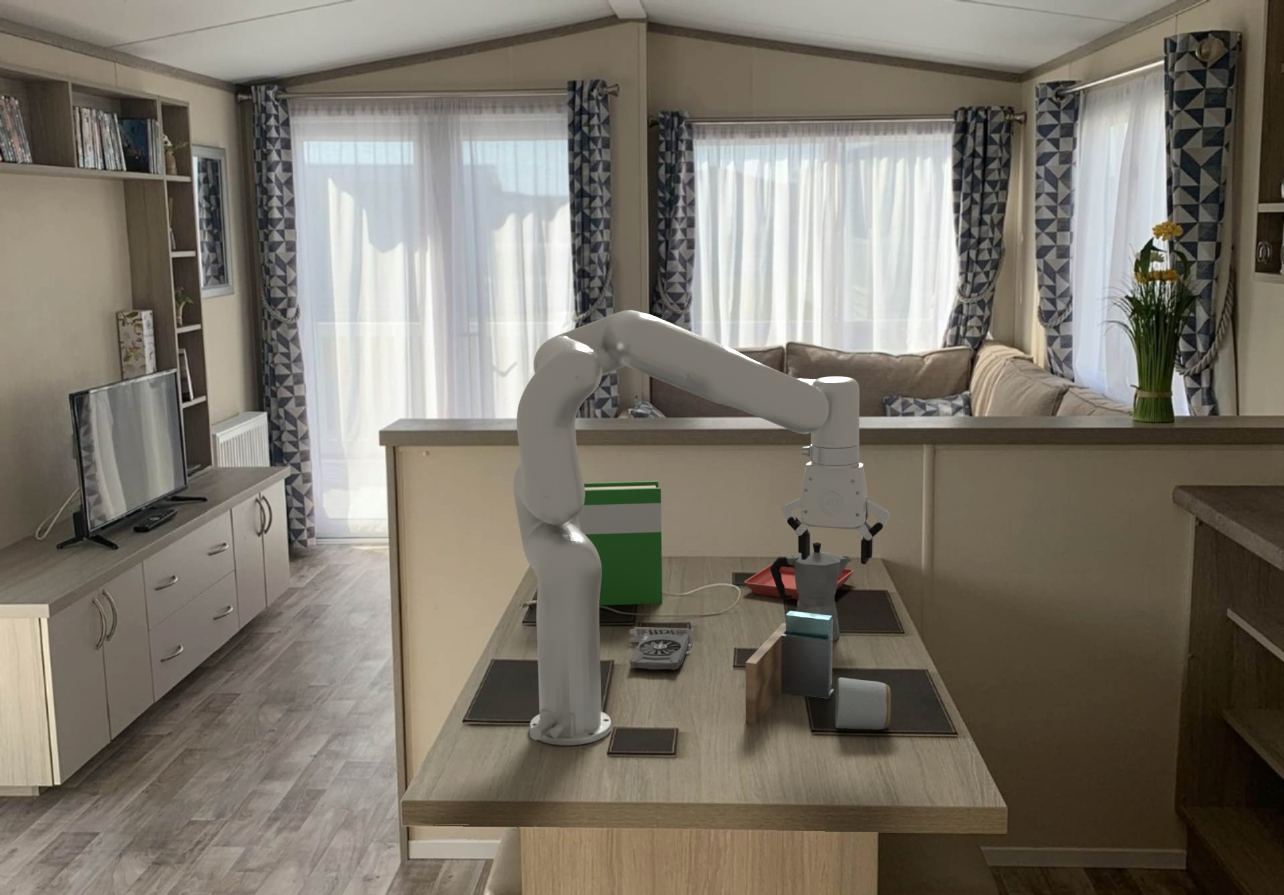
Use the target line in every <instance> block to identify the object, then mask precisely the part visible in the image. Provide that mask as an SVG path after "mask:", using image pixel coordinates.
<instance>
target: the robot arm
mask: <svg viewBox="0 0 1284 895" xmlns="http://www.w3.org/2000/svg"><path fill="white" fill-rule="evenodd" d="M624 367H628V368H630V369H631V370H632V369H633V370H635V371H637V372H639V373H642V374H644V375H646V376H648V377H651V378H653V379H656V380H659V381H661V382H663V383H666V384H668V385H671V386H673V387H676V388H678V389H681V390H683V391H686V392H688V393H691V394H693V395H695V396H698V397H700V398H703V399H705V400H707V401H711V402H713V403H716V404H719V405H722V406H728V407H730V408H733V409H737V410H739V411H742V412H745V413H747V414H750V415H752V416H755V417H758V418H759V419H762V420H765V421H768V422H770V423H772V424H775V425H777V426H779V427H782V428H785V429H786V430H789V431H791V432H794V433H797V434H800V435H801V434H802V435H807V434H810V445H809V446H802V449H801V454H802V456H806V457H809V462H807V463H806V464H805V468H804V473H803V479H802V480H803V481H802V489H801V491H802V492H801V497H798V498H797V499H795V500H793V501H790V502H788V503H786V504H784V505H783V506H782V507H781V512H782V514H783V515H784V518H785V519H786V521H787V524H788V525H789V526H790V527H791V529H793V531H794V532H795V534H796V535H797V537H798V538H797V544H798V545H797V547H798V548H797V551H798V554H800V553H801V559H802V560H805V559H807V558H808V556H809V555H810V552H811V533H810V531H809V530H808V529H809V527H813V528H823V529H824V528H826V529H827V528H828V529H844V530H857V531H858V532H859V533H860V534H861V535H862V538H861V540H860V563H861V564H862V565H866V564H867V563H868V562H869V560H870V559H872V558H873V547H874V546H873V538H874V537H875V536H876V535H877V534H878V533H879V532H880V531H881V530H882V529H883V528H884V526H885V525H886V523H887V521H888V519H889V518H890V516H891V512H890V511H889V510H888V509H887V508H884V507H882V506H880V505H879V504H877V503H875V502H874V501H872V500H870V499H869V496H868V488H867V486H868V485H867V478H866V472H865V466H864V463H862V462H860V385H859V383H858V382H857V380H856V379H855V378H852V377H848V376H825V377H819V378H816V379H815V378H814V379H812V378H811V379H810V378H796V377H793V376H791V375H789V374H786V373H784V372H781V371H780V370H777V369H774V368H773V367H770V366H769V365H765V364H763V363H761V362H758V361H756V360H754V359H752V358H750V357H748V356H746V355H744V354H742V353H740V352H739V351H738V350H737V351H736V350H735V349H733V348H730V347H728V346H726V345H723V344H721V343H719V342H716V341H714V340H711V339H709V338H707V337H704V336H702V335H700V334H697V333H694V332H692V331H691V330H688V329H685V328H683V327H681V326H679V325H676V324H674V323H672V322H669V321H667V320H663V319H661V318H659V317H657V316H654V315H652V314H649V313H645V312H641V311H637V310H632V309H629V310H621V311H619V312H615V313H613V314H610V315H607V316H605V317H601V318H600V319H597V320H595V321H592V322H589V323H587V324H585V325H582V326H579V327H576V328H574V329H570V330H569V331H566V332H562V333H561V334H557V335H555V336H553V337H551V338H549V339H547V340H546V341H545V342H544V343H542V345H540V346H539V348H538V349H537V351H536V353H535V355H534V359H533V371H534V374H533V375H532V377H531V378H530V380H529V381H528V383H527V385H526V387H525V388H524V390H523V392H522V395H521V396H520V399H519V401H518V406H517V412H516V430H517V432H516V433H517V439H518V447H519V456H520V462H519V464H518V466H517V468H516V469H515V473H514V476H513V483H512V484H513V487H512V488H513V496H514V502H515V508H516V516H517V520H518V526H519V531H520V536H521V541H522V548H523V552H524V556H525V557H526V561H527V563H528V564H529V567H531V569H532V570H533V572H534V573H535V575H536V579H537V598H536V616H535V617H536V640H537V642H536V644H537V665H538V666H537V672H538V676H537V677H538V702H539V703H538V704H539V708H538V710H539V714H537V715H535V716H534V717H533V718H532V719H531V720H530V723H529V736H530V737H531V739H533V740H535V741H537V740H538V741H540V742H541V743H546V744H550V745H554V746H556V745H557V746H579V745H585V744H590V743H593V742H596V741H599V740H601V739H603V738H605V737H606V736H608V734H609V733H610V732H611V731H612V725H613V724H612V718H611V717H610V716H609V715H608V714H606V713H605V712H603V711H602V693H601V692H602V686H601V685H602V683H601V640H600V639H601V635H600V632H601V631H600V605H599V599H600V588H601V578H602V568H601V561H600V557H599V554H598V552H597V550H596V548H595V546H594V545H593V543H592V542H591V541H590V540H589V538H588V537H587V536H586V535H585V534H584V533H582V532H581V529H580V524H579V518H578V515H579V513H580V512H581V510H582V508H583V505H584V501H585V487H584V483H585V482H584V479H583V473H582V469H581V463H580V458H579V451H578V450H579V449H578V444H577V435H576V434H577V433H576V419H577V415H578V411H579V409H580V407H581V406H582V404H583V403H584V402H585V401H586V400H587V399H588V398H589V397H590V396H591V395H592V394H593V393H594V392H595V391H596V390H597V388H598V387H599V386H600V383H601V380H602V377H603V376H606V375H607V374H610V373H612V372H615V371H617V370H620V369H622V368H624ZM799 508H801V509H800V518H801V521H802V522H801V521H800V520H799V518H797V516H796V515H795V513H794V510H797V509H799ZM869 512H870V513H872V514H874V515H876V516H877V517H878V519H877V521H876V523H874V524H873V525H871V524H870V522H868V521H867V520H868V518H869Z"/></svg>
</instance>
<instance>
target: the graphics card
mask: <svg viewBox="0 0 1284 895" xmlns="http://www.w3.org/2000/svg"><path fill="white" fill-rule="evenodd" d="M693 630H694V628H693V627H692V628H691V629H690V628H686V627H682V628H681V627H679V628H678V627H648V626H647V627H645V626H644V627H643V626H642V627H640V626H634V627H633V628H630V629H629V635H633V636H634V637H629V643H631V642H639V643H637V646H636V649H635V651H634V652H633V654H632V656H631V658H630V660H629V665H630V666H629V667H630V668H631V669H636V668H637V669H647V670H675V669H677V670H678V669H679V667H680V666H682V665H683V662H684V659H685V657H686V655H687V654H686V652H687V651H689V650H691V648H692V644H693V645H694V633H693V632H694V631H693ZM650 631H651V633H652V634H651V633H650ZM655 631H656V633H657V634H656V633H655ZM660 631H661V632H662V633H661V632H660ZM667 631H668V632H669V633H667ZM671 631H672V632H673V634H672V632H671ZM667 647H668V648H667Z"/></svg>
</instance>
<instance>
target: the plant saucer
mask: <svg viewBox="0 0 1284 895" xmlns="http://www.w3.org/2000/svg"><path fill="white" fill-rule="evenodd" d="M773 563H774V562H772V563H770V564H769V565H768V566H767V567H764V568H763V569H762V570H760V571H758V572H757V573H755V574H754V575H752V576H750V577H749V578H747V579H746V580H744V581H743V583H744V584H745V585H746V586H747V588H748V589H749V590H750V591H751V592H753V593H754V594H755V595H762V596H768V597H769V596H770V597H777V598H780V596H779V593H778V590H777V587H776V585H775V582H774V579H773V576H772V574H771V570H770V568H771V565H772V564H773ZM779 570H780V572H781V576H782V582H783V584H784V586H785V594H789V595H792V597H791V599H790V600H797V601H798V600H799V594H798V593H797V590H796V582H795V575H794V568H793V567H781V568H780V569H779ZM854 571H855V570H853V569H849V568H844V569H843V571H842V573H841V574H840V576H839V578H838V582H837V588H836V591H837V590H838V589H839V588H841V587H842V586H843V585H844V584H845V583H846V582H847V581H848V580H849V578H851V576H852V575H853V573H854Z"/></svg>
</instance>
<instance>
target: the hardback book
mask: <svg viewBox="0 0 1284 895" xmlns="http://www.w3.org/2000/svg"><path fill="white" fill-rule="evenodd" d="M584 487H585V501H584V505H583V508H582V510H581V512H580V513H579V515H578V518H579V524H580V529H581V532H582V533H584V534H585V535H586V536H587V537H588V538H589V540H590V541H591V542H592V543H593V545H594V546H595V548H596V550H597V552H598V554H599V557H600V561H601V568H602V578H601V588H600V599H599V604H600V605H599V606H619V605H647V604H649V605H651V604H652V605H653V604H663V575H662V574H663V567H662V566H663V565H662V564H663V558H662V557H663V554H662V553H663V552H662V550H663V549H662V548H663V546H662V545H663V544H662V492H661V491H662V488H661V487H659V480H641V481H640V480H636V481H635V480H634V481H633V480H632V481H601V482H596V481H595V482H584Z"/></svg>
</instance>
